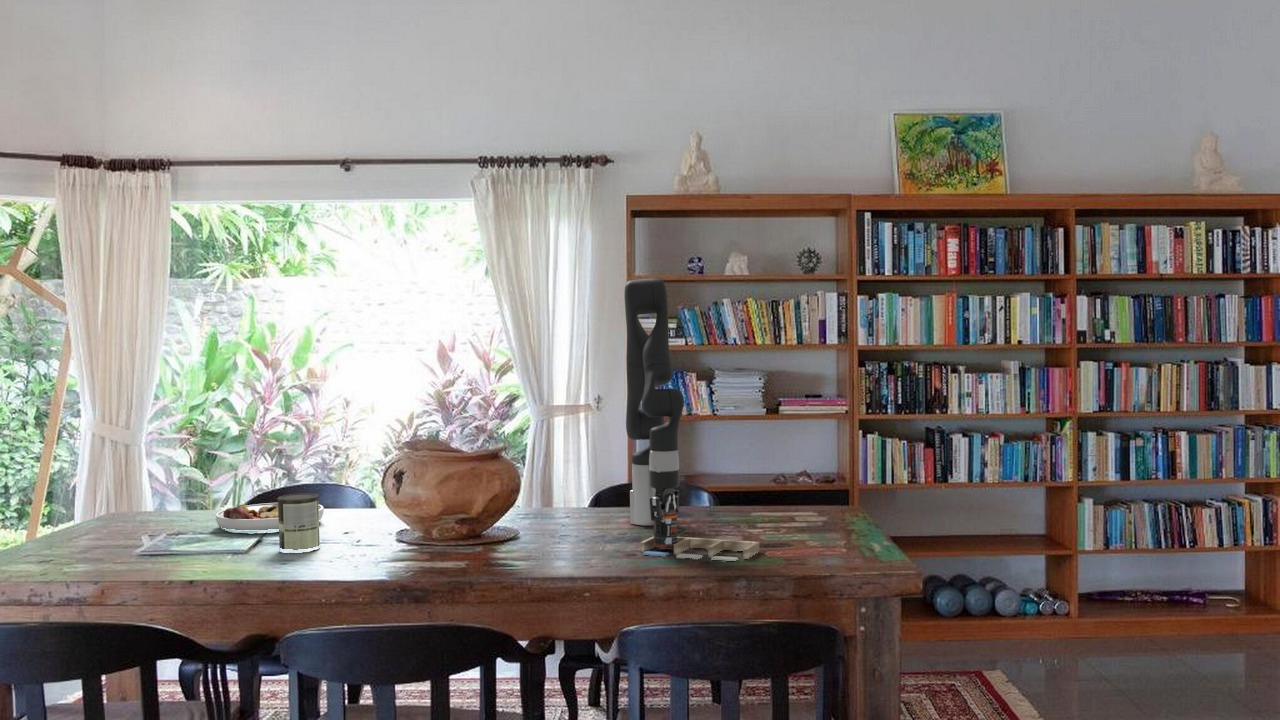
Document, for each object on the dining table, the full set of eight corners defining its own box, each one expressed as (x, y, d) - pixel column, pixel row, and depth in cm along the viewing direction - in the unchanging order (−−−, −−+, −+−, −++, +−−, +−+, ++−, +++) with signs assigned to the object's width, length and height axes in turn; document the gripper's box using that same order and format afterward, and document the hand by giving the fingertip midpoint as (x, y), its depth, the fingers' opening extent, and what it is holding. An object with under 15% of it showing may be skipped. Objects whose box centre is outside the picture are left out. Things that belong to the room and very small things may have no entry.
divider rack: (640, 552, 271) (640, 542, 271) (655, 545, 280) (655, 535, 280) (747, 559, 259) (747, 549, 259) (759, 552, 268) (759, 542, 268)
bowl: (270, 515, 339) (269, 490, 339) (345, 521, 326) (344, 495, 326) (193, 533, 312) (192, 505, 312) (271, 540, 299) (270, 511, 299)
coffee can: (270, 552, 281) (268, 497, 281) (301, 544, 290) (299, 492, 289) (298, 555, 276) (296, 500, 275) (328, 548, 285) (327, 494, 284)
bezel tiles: (642, 555, 267) (642, 552, 267) (646, 553, 269) (646, 551, 269) (734, 562, 257) (734, 559, 257) (738, 560, 260) (738, 557, 260)
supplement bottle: (675, 549, 270) (674, 504, 269) (651, 548, 271) (651, 503, 270) (679, 544, 275) (678, 500, 275) (656, 543, 277) (655, 499, 276)
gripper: (661, 464, 281) (662, 528, 281) (638, 471, 267) (640, 539, 268) (688, 465, 277) (689, 530, 278) (666, 472, 264) (668, 541, 265)
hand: (665, 534), depth 273 cm, fingers closed on supplement bottle, 6 cm apart
